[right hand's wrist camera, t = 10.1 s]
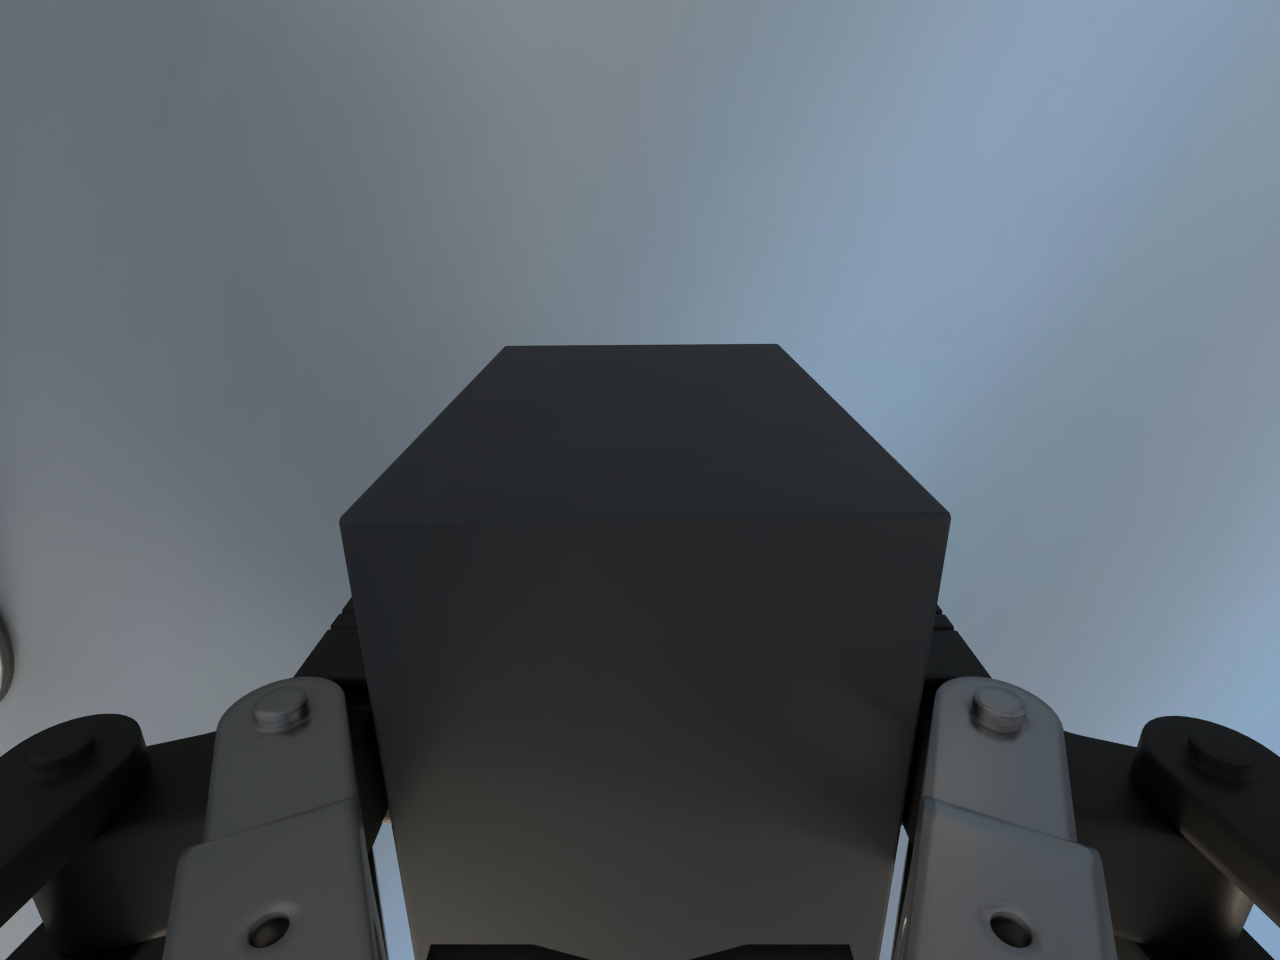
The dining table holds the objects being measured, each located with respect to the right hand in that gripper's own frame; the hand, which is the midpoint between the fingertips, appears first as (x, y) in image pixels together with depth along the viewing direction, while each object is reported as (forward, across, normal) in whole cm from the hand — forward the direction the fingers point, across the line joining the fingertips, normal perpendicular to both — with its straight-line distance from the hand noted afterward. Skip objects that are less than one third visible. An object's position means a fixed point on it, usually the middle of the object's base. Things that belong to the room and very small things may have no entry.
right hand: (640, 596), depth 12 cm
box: (+5, 0, +8) cm, 9 cm away
